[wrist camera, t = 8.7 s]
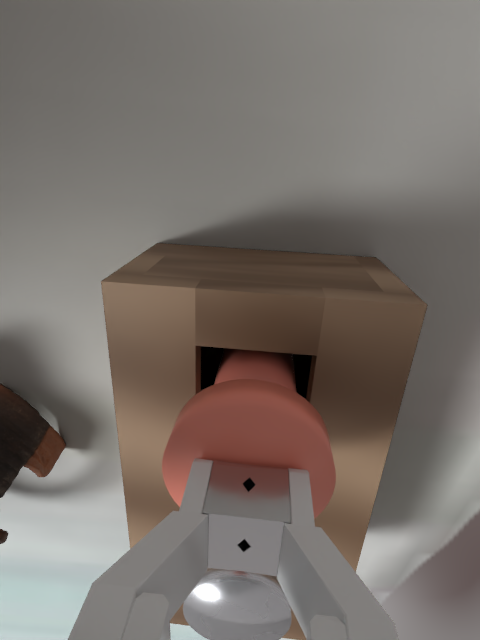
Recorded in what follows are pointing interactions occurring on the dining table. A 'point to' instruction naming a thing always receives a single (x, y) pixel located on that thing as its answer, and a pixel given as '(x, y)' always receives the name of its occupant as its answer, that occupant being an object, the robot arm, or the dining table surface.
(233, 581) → the steel plug
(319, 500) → the red plug
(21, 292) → the dining table surface
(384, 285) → the walnut plug panel
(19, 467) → the pottery mug
